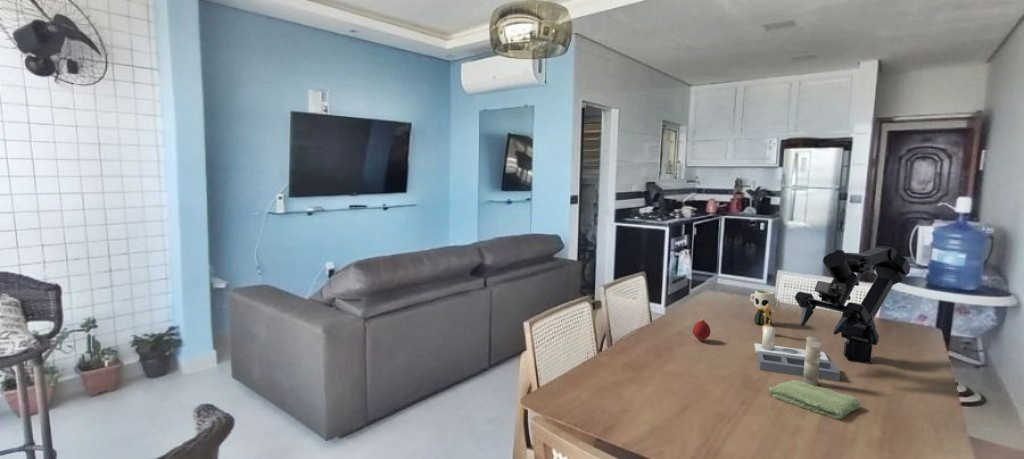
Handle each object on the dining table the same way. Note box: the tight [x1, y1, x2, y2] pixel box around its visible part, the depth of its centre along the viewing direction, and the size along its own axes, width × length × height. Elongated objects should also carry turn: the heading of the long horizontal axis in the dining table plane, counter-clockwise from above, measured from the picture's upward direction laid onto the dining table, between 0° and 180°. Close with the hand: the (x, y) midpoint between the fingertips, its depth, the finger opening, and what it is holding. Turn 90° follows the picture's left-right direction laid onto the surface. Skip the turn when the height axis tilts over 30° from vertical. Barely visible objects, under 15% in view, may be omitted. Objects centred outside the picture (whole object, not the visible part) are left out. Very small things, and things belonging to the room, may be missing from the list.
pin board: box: [756, 352, 841, 382], centre depth 148 cm, size 20×9×2 cm, turn 68°
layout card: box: [753, 326, 830, 361], centre depth 161 cm, size 20×8×8 cm, turn 68°
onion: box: [692, 318, 711, 342], centre depth 172 cm, size 6×6×8 cm
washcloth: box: [768, 380, 861, 420], centre depth 127 cm, size 13×18×3 cm
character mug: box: [749, 289, 780, 326], centre depth 193 cm, size 11×7×13 cm, turn 39°
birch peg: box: [802, 335, 823, 386], centre depth 138 cm, size 4×4×13 cm
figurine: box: [754, 304, 780, 333], centre depth 180 cm, size 8×6×12 cm
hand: (817, 329), depth 144 cm, fingers open, 9 cm apart
